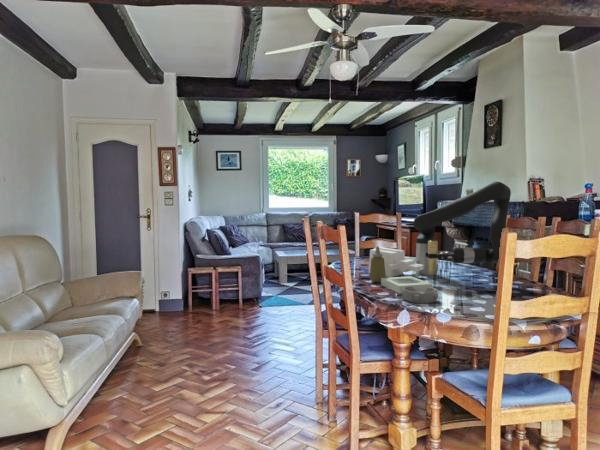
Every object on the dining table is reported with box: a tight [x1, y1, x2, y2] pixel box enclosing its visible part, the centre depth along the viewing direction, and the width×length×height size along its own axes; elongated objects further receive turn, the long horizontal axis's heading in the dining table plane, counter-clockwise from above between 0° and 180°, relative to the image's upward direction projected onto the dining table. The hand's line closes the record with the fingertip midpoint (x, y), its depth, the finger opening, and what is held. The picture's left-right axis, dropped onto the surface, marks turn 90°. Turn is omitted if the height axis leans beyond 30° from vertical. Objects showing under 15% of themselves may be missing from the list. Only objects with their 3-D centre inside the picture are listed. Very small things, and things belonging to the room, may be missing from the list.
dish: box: [401, 286, 439, 304], centre depth 177 cm, size 14×14×5 cm
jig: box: [380, 276, 433, 295], centre depth 200 cm, size 20×16×4 cm
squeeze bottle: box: [369, 245, 386, 283], centre depth 217 cm, size 8×8×18 cm
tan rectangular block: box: [428, 240, 439, 276], centre depth 206 cm, size 4×4×16 cm
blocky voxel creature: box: [368, 246, 424, 278], centre depth 233 cm, size 15×25×28 cm
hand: (427, 255), depth 206 cm, fingers closed on tan rectangular block, 4 cm apart
